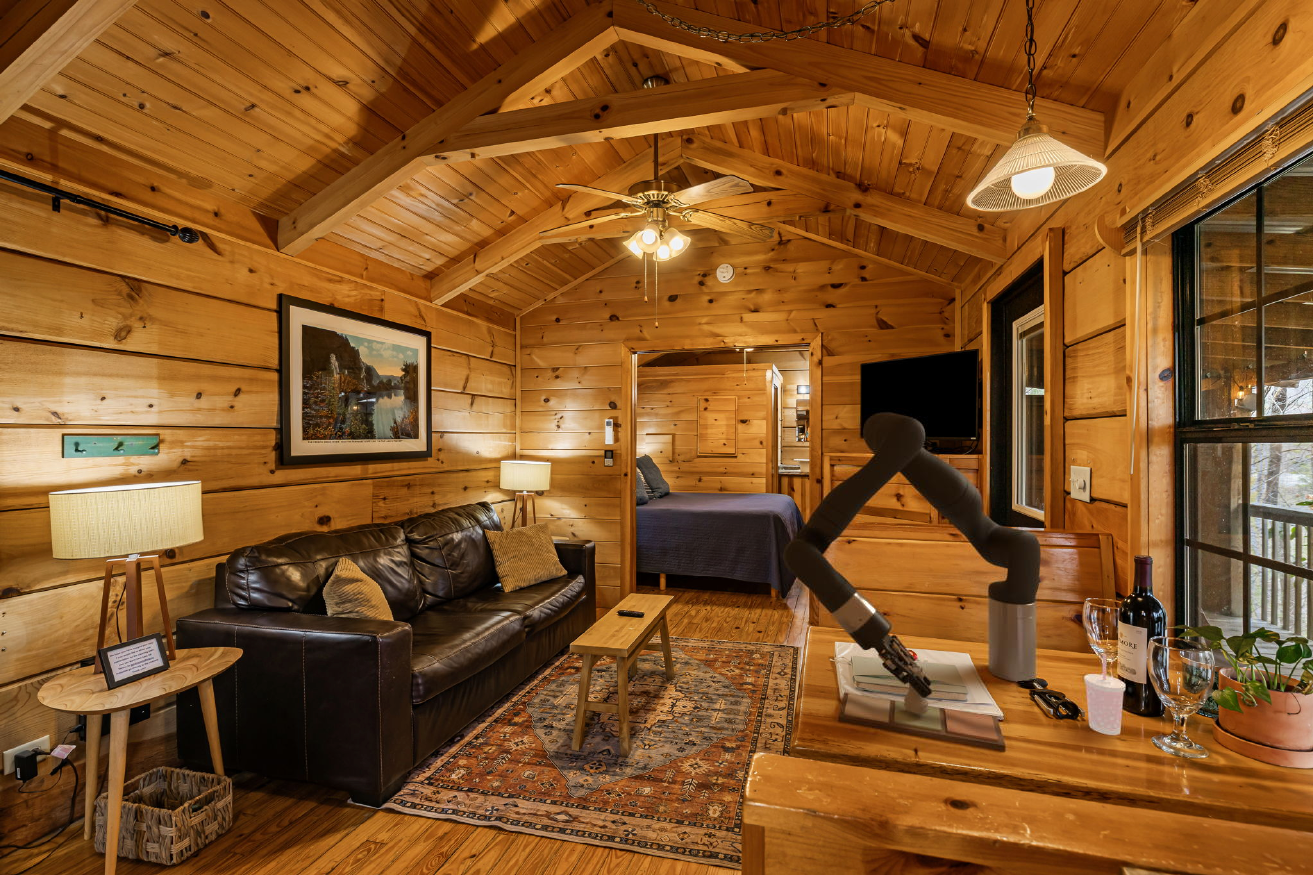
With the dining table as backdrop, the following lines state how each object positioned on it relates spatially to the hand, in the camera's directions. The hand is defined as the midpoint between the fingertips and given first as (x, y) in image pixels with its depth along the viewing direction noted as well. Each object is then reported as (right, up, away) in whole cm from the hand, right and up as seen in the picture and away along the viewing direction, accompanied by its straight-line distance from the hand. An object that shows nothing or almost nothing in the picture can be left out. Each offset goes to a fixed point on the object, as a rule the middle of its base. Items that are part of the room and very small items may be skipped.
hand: (927, 690), depth 112 cm
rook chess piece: (-2, -4, +1) cm, 5 cm away
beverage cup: (+32, -6, -3) cm, 32 cm away
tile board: (-2, -6, +1) cm, 7 cm away
